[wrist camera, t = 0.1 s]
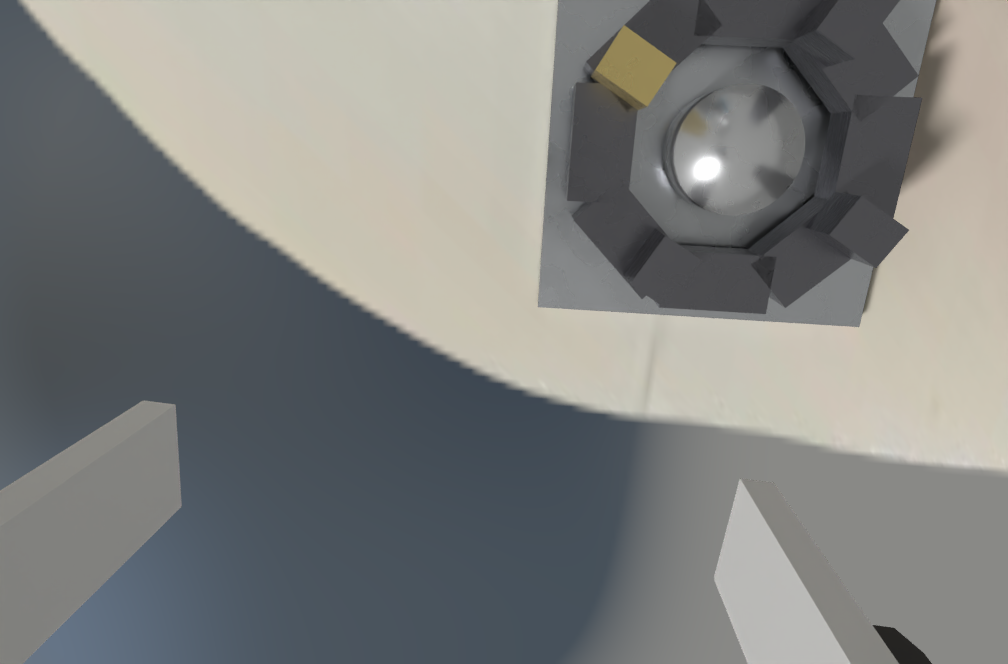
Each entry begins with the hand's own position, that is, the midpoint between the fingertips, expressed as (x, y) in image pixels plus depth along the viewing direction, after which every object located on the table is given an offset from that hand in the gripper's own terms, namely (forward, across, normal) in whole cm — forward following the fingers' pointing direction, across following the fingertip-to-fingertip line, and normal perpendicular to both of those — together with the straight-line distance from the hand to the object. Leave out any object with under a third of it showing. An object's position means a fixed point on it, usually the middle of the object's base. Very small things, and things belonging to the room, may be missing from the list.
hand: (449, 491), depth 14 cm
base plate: (+28, +12, +9) cm, 31 cm away
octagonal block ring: (+26, +12, +9) cm, 30 cm away
